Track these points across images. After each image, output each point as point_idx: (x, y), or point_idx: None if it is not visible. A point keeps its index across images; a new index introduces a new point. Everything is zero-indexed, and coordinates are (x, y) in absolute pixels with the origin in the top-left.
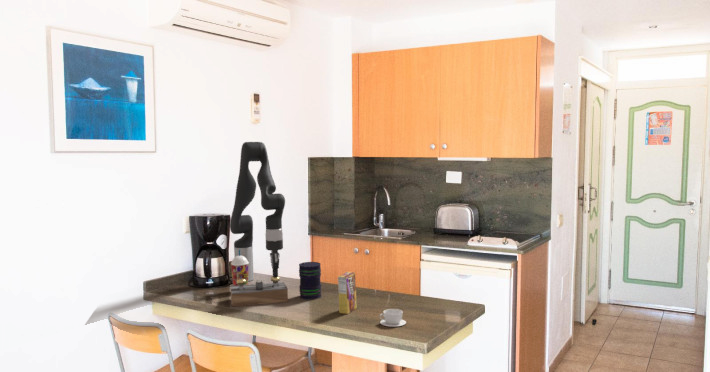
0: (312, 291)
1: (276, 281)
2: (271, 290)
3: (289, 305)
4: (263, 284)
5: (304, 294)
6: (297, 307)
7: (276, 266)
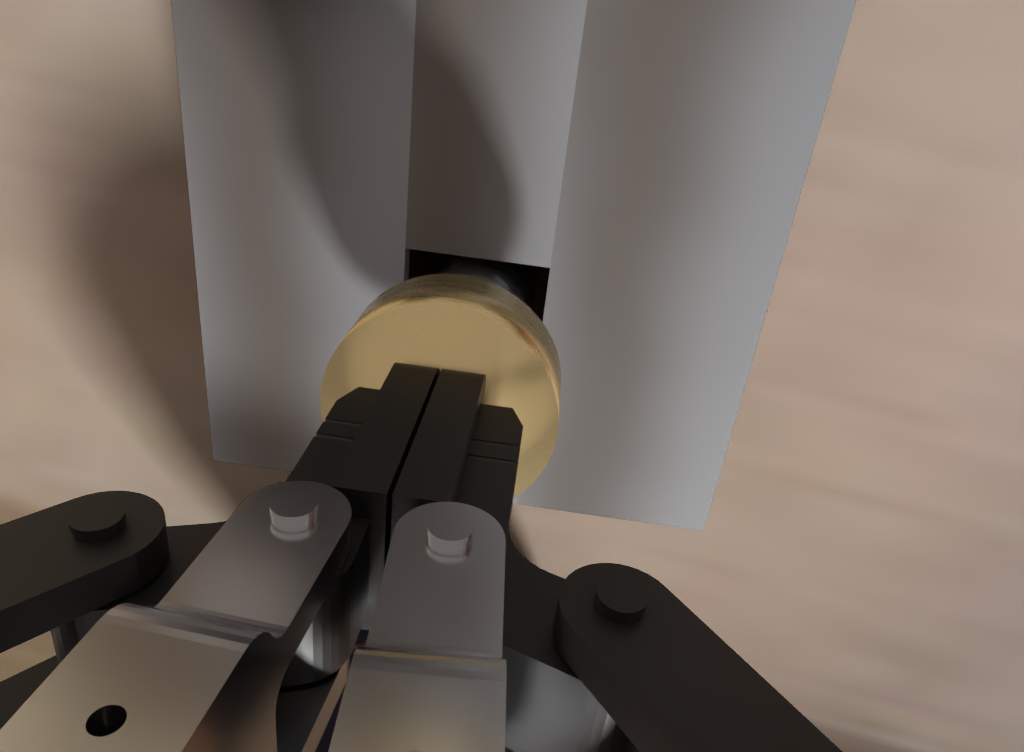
0: None
1: None
2: (195, 167)
3: (115, 327)
4: (721, 104)
5: None
6: (10, 388)
7: (59, 659)
